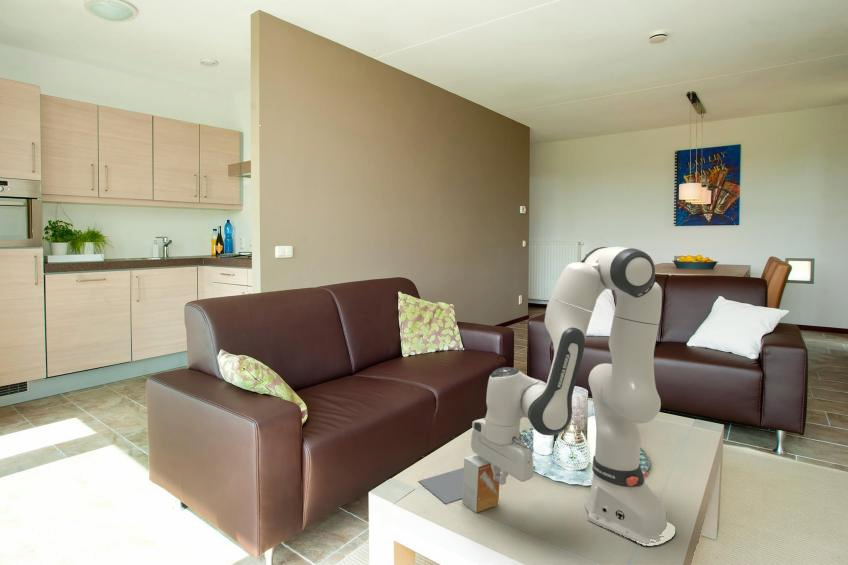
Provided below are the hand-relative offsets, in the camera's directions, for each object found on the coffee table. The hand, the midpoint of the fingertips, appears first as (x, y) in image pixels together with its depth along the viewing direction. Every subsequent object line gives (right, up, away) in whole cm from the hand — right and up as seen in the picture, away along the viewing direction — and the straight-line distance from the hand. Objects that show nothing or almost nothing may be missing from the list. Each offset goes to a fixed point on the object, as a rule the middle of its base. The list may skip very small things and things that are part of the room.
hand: (499, 482), depth 127 cm
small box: (-4, -9, +7) cm, 12 cm away
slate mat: (-10, -8, +17) cm, 21 cm away
